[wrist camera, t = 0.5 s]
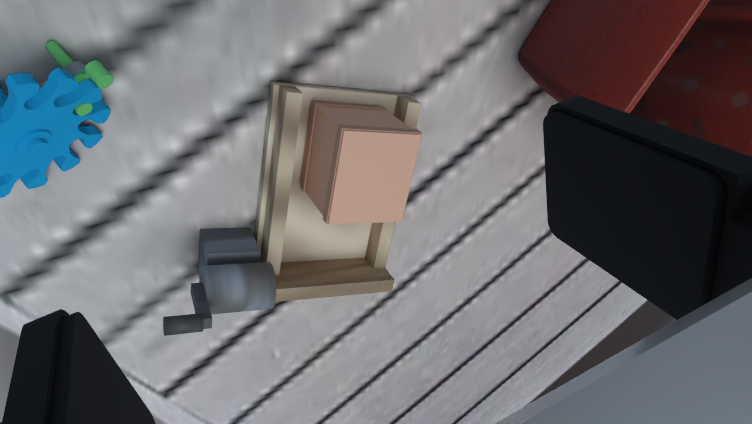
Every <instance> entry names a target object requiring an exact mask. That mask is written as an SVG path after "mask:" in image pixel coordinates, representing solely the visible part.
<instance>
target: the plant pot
mask: <svg viewBox="0 0 752 424" xmlns="http://www.w3.org/2000/svg"><path fill="white" fill-rule="evenodd" d="M519 61H520V63H521V65H522V66H523V68H524V69H525V70H526V71H527V72H528V74H529V75H530V76H531V77H532V78H533V79H534V80H535V82H536V83H537V84H538V85H540V86H541V87H542V88H543V89H544V90H545V91H546V92H547V93H548V94H549V95H551V96H552V97H553V98H554V99H556V100H557V101H558V102H562V101H564V100H567V99H569V98H571V97H574V96H581V97H584V98H587V99H590V100H593V101H596V102H598V103H601V104H604V105H607V106H610V107H613V108H615V109H618V110H621V111H624V112H627V113H629V114H632V115H635V116H638V117H641V118H644V119H646V120H649V121H652V122H655V123H658V124H661V125H663V126H666V127H669V128H672V129H675V130H677V131H680V132H683V133H686V134H689V135H692V136H694V137H697V138H700V139H703V140H706V141H709V142H711V143H714V144H717V145H720V146H723V147H726V148H728V149H731V150H734V151H737V152H740V153H742V154H745V155H748V156H751V157H752V0H552V1H551V2H550V4H549V6H548V7H547V9H546V10H545V12H544V14H543V15H542V17H541V18H540V20H539V21H538V23H537V24H536V26H535V28H534V29H533V31H532V32H531V34H530V36H529V37H528V39H527V40H526V42H525V43H524V45H523V46H522V48H521V51H520V53H519Z"/></svg>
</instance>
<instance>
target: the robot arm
mask: <svg viewBox="0 0 752 424" xmlns="http://www.w3.org/2000/svg"><path fill="white" fill-rule="evenodd" d="M543 131H544V152H545V173H546V193H547V214H548V225H549V227H550V230H551V231H552V233H553V234H554V235H555V236H556V237H557V238H558V239H560V240H561V241H563V242H564V243H566V244H567V245H569V246H570V247H572V248H573V249H574V250H576V251H577V252H579V253H580V254H582V255H583V256H585V257H586V258H588V259H589V260H590V261H592V262H593V263H595V264H596V265H598V266H599V267H601V268H602V269H604V270H605V271H606V272H608V273H609V274H611V275H612V276H614V277H615V278H617V279H618V280H620V281H621V282H623V283H624V284H625V285H627V286H628V287H630V288H631V289H633V290H634V291H636V292H637V293H639V294H640V295H641V296H643V297H644V298H646V299H647V300H649V301H650V302H652V303H653V304H655V305H656V306H658V307H659V308H660V309H662V310H663V311H665V312H666V313H668V314H669V315H671V316H672V317H673V318H675V319H676V321H675V322H673V323H671V324H669V325H667V326H666V327H664V328H662V329H660V330H659V331H657V332H655V333H653V334H652V335H650V336H648V337H646V338H644V339H643V340H641V341H639V342H637V343H636V344H634V345H632V346H631V347H628V348H627V349H625V350H623V351H621V352H620V353H618V354H616V355H615V356H613V357H611V358H609V359H607V360H606V361H604V362H602V363H601V364H599V365H597V366H595V367H593V368H592V369H590V370H588V371H586V372H585V373H583V374H581V375H579V376H578V377H576V378H574V379H572V380H571V381H569V382H567V383H565V384H564V385H562V386H560V387H558V388H557V389H555V390H553V391H551V392H550V393H548V394H547V395H544V396H543V397H541V398H539V399H537V400H536V401H534V402H532V403H531V404H529V405H527V406H525V407H524V408H522V409H520V410H518V411H517V412H515V413H513V414H511V415H510V416H508V417H506V418H504V419H503V420H501V421H499V422H497V423H496V424H752V157H751V156H748V155H745V154H742V153H740V152H737V151H734V150H731V149H728V148H726V147H723V146H720V145H717V144H714V143H711V142H709V141H706V140H703V139H700V138H697V137H694V136H692V135H689V134H686V133H683V132H680V131H677V130H675V129H672V128H669V127H666V126H663V125H661V124H658V123H655V122H652V121H649V120H646V119H644V118H641V117H638V116H635V115H632V114H629V113H627V112H624V111H621V110H618V109H615V108H613V107H610V106H607V105H604V104H601V103H598V102H596V101H593V100H590V99H587V98H584V97H581V96H574V97H571V98H569V99H567V100H564V101H562V102H559V103H557V104H555V105H552V106H551V107H550V108H549V111H548V114H547V116H546V117H545V118H544V121H543ZM0 424H155V421H154V419H153V416H152V414H151V413H150V411H149V410H148V408H147V407H146V405H145V404H144V402H143V401H142V399H141V398H140V397H139V395H138V394H137V392H136V391H135V389H134V388H133V386H132V385H131V384H130V382H129V381H128V379H127V378H126V376H125V375H124V373H123V372H122V371H121V369H120V368H119V366H118V365H117V363H116V362H115V360H114V359H113V358H112V356H111V355H110V353H109V352H108V350H107V349H106V347H105V346H104V345H103V343H102V342H101V340H100V339H99V337H98V336H97V335H96V333H95V332H94V330H93V329H92V327H91V326H90V324H89V323H88V322H87V320H86V319H85V317H84V316H83V315H82V314H81V313H80V312H76V313H73V314H71V315H69V314H68V313H67V312H66V311H64V310H61V309H60V310H58V311H55V312H53V313H51V314H48V315H46V316H43V317H41V318H39V319H36V320H34V321H31V322H29V323H27V324H25V325H23V328H22V331H21V335H20V340H19V345H18V350H17V354H16V359H15V364H14V369H13V374H12V378H11V383H10V388H9V392H8V397H7V402H6V407H5V412H4V416H3V421H2V422H1V423H0Z"/></svg>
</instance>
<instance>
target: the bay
mask: <svg viewBox="0 0 752 424" xmlns="http://www.w3.org/2000/svg"><path fill="white" fill-rule="evenodd" d="M312 102H325V103H338V104H350V105H363V106H376V107H385V108H386V109H388V110H389V113H391V114H392V115H394V116H395V117H396V118H398V119H399V120H401V121H402V122H404V123H405V124H407V125H408V126H409V127H411V128H412V129H416V126H417V122H418V117H419V113H420V108H421V104H422V103H420V102H418V101H417V100H415V99H414V97H413V96H412V95H410V94H404V93H393V92H383V91H372V90H361V89H350V88H340V87H329V86H318V85H307V84H297V83H286V82H275V81H271V85H270V95H269V104H268V114H267V123H266V133H265V142H264V152H263V161H262V171H261V180H260V190H259V199H258V209H257V218H256V228H255V237H254V236H253V234H252V232H251V230H250V228H226V229H200V243H199V260H198V274H199V278H200V280H199V283H192V284H191V296H192V300H193V304H194V309H195V313H196V314H190V315H180V316H169V317H164V318H163V329H164V336H165V335H174V334H184V333H193V332H202V331H203V329H207V328H212V316H211V314H220V313H230V312H241V311H251V310H261V309H272V308H273V307H274V304H275V302H277V301H288V300H299V299H310V298H321V297H332V296H343V295H354V294H365V293H376V292H387V291H392V288H393V284H394V279H393V277H392V276H391V275H390V274H389V272H388V271H387V270H386V268H385V266H386V262H387V257H388V253H389V248H390V244H391V239H392V235H393V230H394V226H395V222H385V223H349V224H326V223H325V222H324V220H323V216H322V214H321V213H320V211H319V210H318V209H317V207H316V206H315V205H314V203H313V202H312V200H311V199H310V198H309V196H308V195H307V194H306V192H303V191H302V190H301V188H300V187H301V185H300V183H301V176H302V168H303V161H304V154H305V147H306V139H307V132H308V125H309V118H310V110H311V103H312Z"/></svg>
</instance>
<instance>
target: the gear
mask: <svg viewBox="0 0 752 424" xmlns="http://www.w3.org/2000/svg"><path fill="white" fill-rule="evenodd" d="M46 49H47V50H48V51H49V52H50V54H51V55H52V56H53V57H54V58H55V59H56V60H57V62H58V63H59V64H60V65H61V66H62V67H63V68H62V69H61V68H56V69H54V70H53V71H52V72H51V73H50V74H49V77H48V79H46V80H45V81H44V82H42V83H41V84H38V82H37V81H36V80H35V79H34V78H33V77H32V75H31V74H30V73H16V74H10V75H8V77H7V78H6V81H5V82H6V85H7V87H8V97H7V95H6V94H5V93H4V92H3V91H2V89H1V88H0V198H3V197H5V196H6V195H8V194H9V193H10V191H11V189H12V187H13V185H14V184H15V182H16V181H17V180H18V179H19V178H20V179H21V181H22V182H23V183H24V185H25V186H26V187H27V188H28V189H31V188H36V187H40V186H43V185H45V184H46V182H47V177H46V170H47V168H48V166H49V164H50V163H51V161H52V160H53V159H54V161H55V163H56V164H57V165H58V166H59V168H60V169H61V170H62V171H66V170H69V169H71V168H72V167H74V166H76V165H77V164H79V162H80V160H79V158H78V157H77V156H76V155H75V154H74V152H73V151H72V150H70V148H69V147H70V144H71V143H72V142H73V141H74V140H76V139H79V140H80V141H81V142H82V143H83V144H84V146H85V147H87V148H92V147H93V146H94V145H96V144H97V143H98V142H99V141H100V139H101V138H102V137H103V136H102V135H101V133H100V132H99V131H98V130H97V129H96V127H94V126H79V124H80V123H81V122H83V121H85V120H88V119H90V120H92V121H94V122H95V123H97V124H100V123H104V122H106V120H107V119H108V117H109V114H110V108H109V107H108V106H107V105H106V104H105V103H104V101H102V100H101V99H102V93H101V90H100V89H99V88H105V87H108V86H109V85H110V84H111V83H112V82H113V77H112V75H111V74H110V73H109V72H108V71H107V70H106V69H105V67H104V66H103V65H102V64H101V63H100V62H99V61H97V60H95V61H91V62H89V63H88V64H87V65H86V64H85V63H84V62H81V61H75V62H73V60H72V59H71V58H70V57H69V56H68V55H67V54H66V52H65V51H64V50H63V49H62V48H61V47H60V45H59V44H58V43H57V42H56V41H50V42H48V43H47V44H46ZM93 81H94V82H95V83H96V84H95V83H94V82H93Z"/></svg>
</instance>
